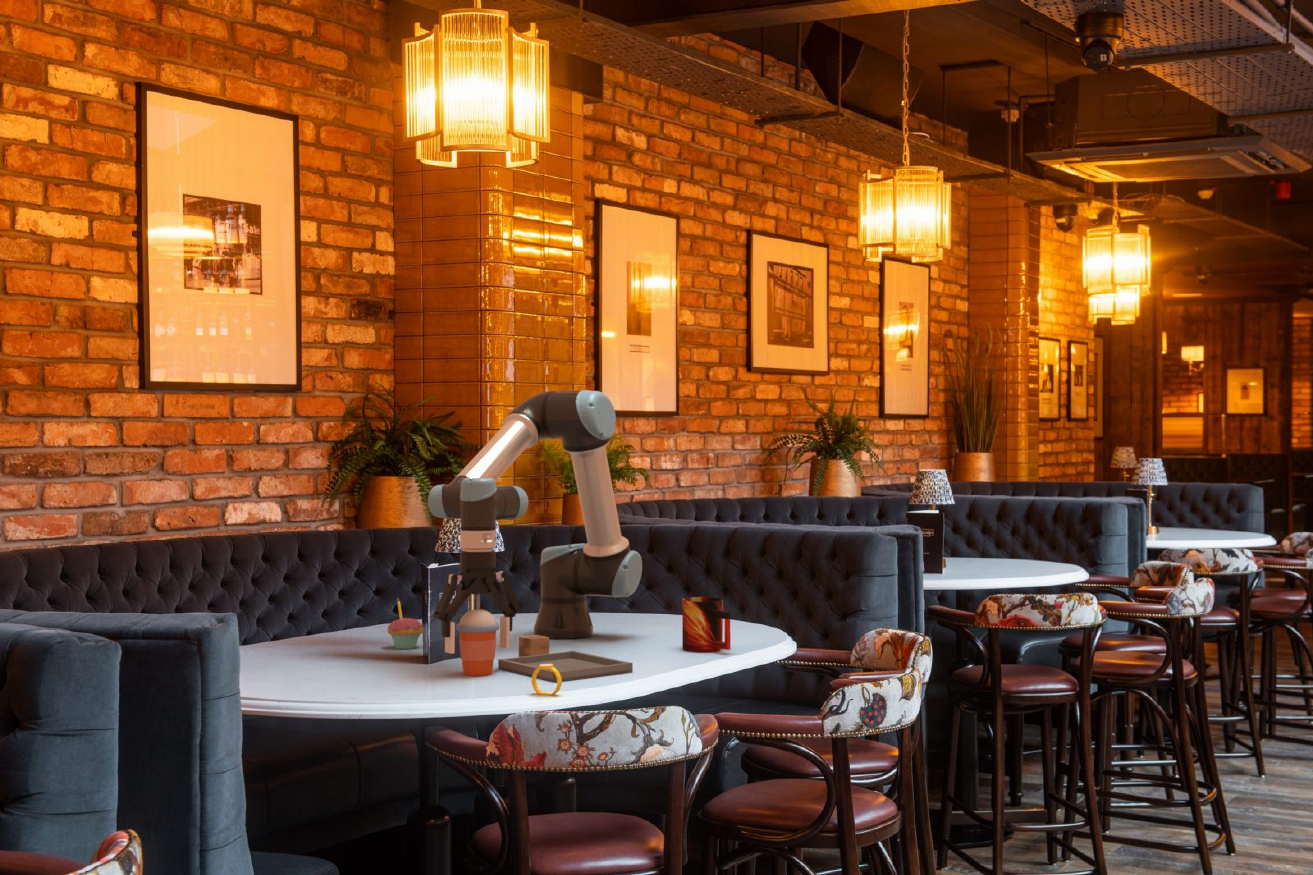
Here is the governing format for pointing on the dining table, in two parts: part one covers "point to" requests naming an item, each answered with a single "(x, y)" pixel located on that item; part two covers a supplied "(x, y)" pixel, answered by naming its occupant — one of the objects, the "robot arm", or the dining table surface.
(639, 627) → the dining table surface
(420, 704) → the dining table surface
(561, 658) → the tray
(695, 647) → the mug
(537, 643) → the walnut block
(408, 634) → the cupcake
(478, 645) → the cup with straw
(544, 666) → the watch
